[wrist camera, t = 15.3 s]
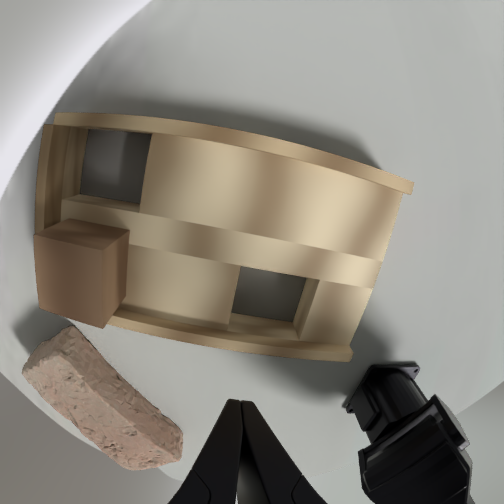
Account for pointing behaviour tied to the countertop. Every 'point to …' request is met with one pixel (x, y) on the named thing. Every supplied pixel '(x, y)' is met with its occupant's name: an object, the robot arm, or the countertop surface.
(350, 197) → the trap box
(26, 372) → the brick
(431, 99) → the countertop surface
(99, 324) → the walnut block
